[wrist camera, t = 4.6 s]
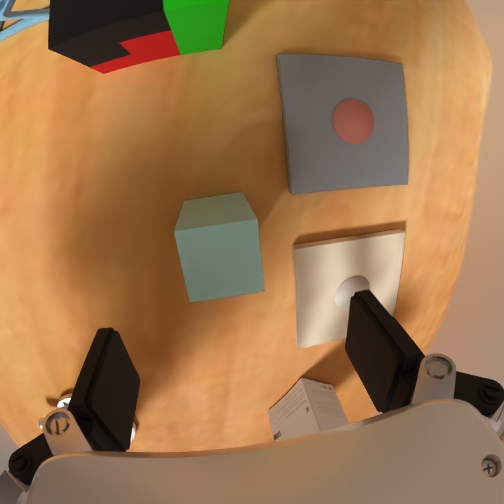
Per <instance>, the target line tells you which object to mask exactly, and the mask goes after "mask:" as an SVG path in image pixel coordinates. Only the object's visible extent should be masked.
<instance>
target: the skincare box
mask: <svg viewBox="0 0 504 504" xmlns="http://www.w3.org/2000/svg"><path fill="white" fill-rule="evenodd" d="M268 415H269V419H270V423H271V427H272V432H273V436H274V440H275V442H276V441H281V440H286V439H291V438H296V437H301V436H305V435H310V434H314V433H318V432H322V431H326V430H330V429H334V428H337V427H341V426H344V425H348V424H349V422H348V420H347V417H346V415H345V413H344V410H343V408H342V406H341V404H340V401H339V399H338V397H337V395H336V392H335V390H334V388H333V386H332V385H329V384H324V383H321V382H317V381H314V380H310V379H307V378H303V377H301V378H300V379H299V380H298V381H297V383H296V384H295V385H294V386H293V388H292V389H291V390H290V391H289V392H288V393H287V394H286V395H285V396H284V397H283V398H282V399H281V400H280V401H279V402H278V403H277V404H275V405H274V406H273V407H272V408H271V409H270V410H269V411H268Z"/></svg>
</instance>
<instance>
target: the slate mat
mask: <svg viewBox="0 0 504 504" xmlns="http://www.w3.org/2000/svg"><path fill="white" fill-rule="evenodd" d="M276 59H277V68H278V76H279V85H280V94H281V104H282V114H283V124H284V135H285V146H286V158H287V170H288V184H289V192H290V193H291V194H301V193H311V192H320V191H330V190H341V189H352V188H364V187H377V186H391V185H406V184H408V123H407V106H406V94H405V84H404V75H403V67H402V64H399V63H394V62H388V61H381V60H374V59H366V58H357V57H347V56H335V55H317V54H278V55H277V56H276Z"/></svg>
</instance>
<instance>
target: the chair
mask: <svg viewBox="0 0 504 504" xmlns="http://www.w3.org/2000/svg"><path fill="white" fill-rule="evenodd" d="M14 3H15V0H0V28H1V26H2V23H3V21H5V20H14V19H23V20H21V21H19V22H17V23H15V24H14V25H12V26H10V27H8V28H7V29H5V30H3V31H1V32H0V41H2V40H4V39H6V38H8V37H10V36H12V35H14V34H16V33H18V32H20V31H22V30H24V29H26V28H28V27H31V26H33V25H35V24H38V23H40V22H43V21H46V20H49V10H50V9H35V10H24V11H14V12H11V9H12V7H13V5H14Z"/></svg>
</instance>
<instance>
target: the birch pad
mask: <svg viewBox="0 0 504 504" xmlns="http://www.w3.org/2000/svg"><path fill="white" fill-rule="evenodd" d="M404 240H405V232H404V231H403V230H401V229H396V230H390V231H383V232H376V233H369V234H363V235H356V236H349V237H343V238H336V239H329V240H323V241H316V242H309V243H303V244H296V245H292V248H293V269H294V293H295V327H296V345H297V347H298V349H300V348H305V347H309V346H314V345H318V344H323V343H327V342H331V341H335V340H339V339H344V338H346V335H347V327H348V317H349V307H350V298H351V297H352V296H354V293H355V292H357V291H362V290H367V289H369V290H370V291H371V292H372V293H373V294H374V296H375V297H376V298H377V299H378V300H379V302H380V303H381V304H382V305H383V306H384V308H385V309H386V310H387V311H388V312H389V314H390V315H391V316H394V311H395V305H396V300H397V294H398V287H399V281H400V274H401V267H402V259H403V250H404Z"/></svg>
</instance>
